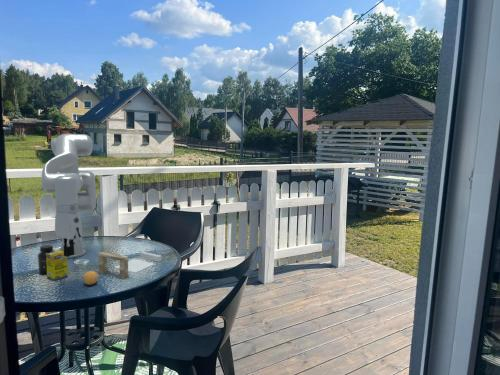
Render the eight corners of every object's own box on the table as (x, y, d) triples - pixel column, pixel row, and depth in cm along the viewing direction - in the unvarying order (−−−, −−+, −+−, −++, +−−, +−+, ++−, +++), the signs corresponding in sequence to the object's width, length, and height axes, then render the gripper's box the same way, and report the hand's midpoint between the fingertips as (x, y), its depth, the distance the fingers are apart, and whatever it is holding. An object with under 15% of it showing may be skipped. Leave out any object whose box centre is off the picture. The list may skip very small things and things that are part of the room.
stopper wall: (159, 261, 182) (159, 256, 181) (140, 257, 187) (140, 252, 187) (161, 260, 184) (161, 255, 183) (143, 256, 189) (143, 251, 188)
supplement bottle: (35, 275, 161) (33, 248, 159) (45, 269, 168) (43, 243, 166) (50, 276, 161) (49, 249, 159) (59, 270, 167) (58, 244, 166)
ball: (82, 287, 150) (82, 274, 149) (84, 282, 155) (83, 269, 154) (97, 286, 152) (97, 273, 151) (98, 281, 157) (98, 268, 156)
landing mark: (135, 272, 167) (135, 272, 167) (114, 267, 173) (114, 267, 173) (155, 264, 178) (155, 263, 178) (134, 259, 184) (134, 259, 184)
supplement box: (54, 281, 155) (53, 256, 154) (46, 278, 158) (45, 253, 157) (68, 277, 160) (67, 252, 159) (60, 273, 163) (59, 249, 162)
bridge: (123, 279, 160) (122, 258, 158) (99, 272, 166) (98, 252, 165) (128, 276, 162) (128, 256, 161) (104, 270, 169) (103, 250, 167)
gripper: (89, 209, 140) (91, 256, 143) (62, 204, 147) (64, 249, 149) (72, 212, 133) (74, 261, 136) (44, 207, 140) (47, 254, 143)
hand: (69, 255), depth 143 cm, fingers closed
